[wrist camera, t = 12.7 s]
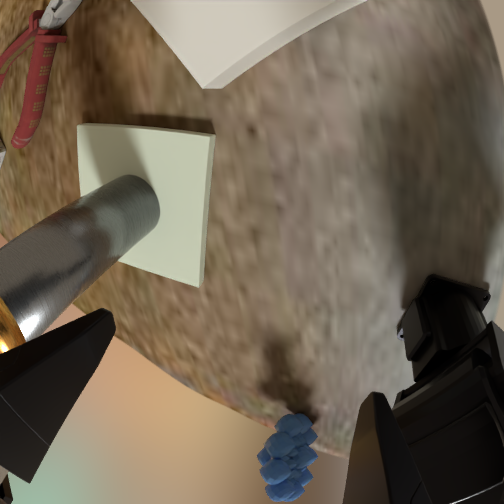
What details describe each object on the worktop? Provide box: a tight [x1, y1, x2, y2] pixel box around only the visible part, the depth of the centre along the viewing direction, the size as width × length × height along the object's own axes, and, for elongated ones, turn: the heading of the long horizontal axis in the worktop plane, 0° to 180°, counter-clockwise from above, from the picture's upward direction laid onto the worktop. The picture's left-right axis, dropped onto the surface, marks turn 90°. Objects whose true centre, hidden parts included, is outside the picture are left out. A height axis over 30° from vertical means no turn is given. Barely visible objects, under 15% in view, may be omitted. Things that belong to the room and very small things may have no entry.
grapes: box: [257, 413, 318, 502], centre depth 27 cm, size 12×7×12 cm, turn 23°
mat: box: [77, 123, 216, 287], centre depth 22 cm, size 12×12×1 cm
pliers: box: [0, 0, 82, 148], centre depth 16 cm, size 12×20×3 cm, turn 128°
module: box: [0, 174, 160, 354], centre depth 16 cm, size 5×5×15 cm
